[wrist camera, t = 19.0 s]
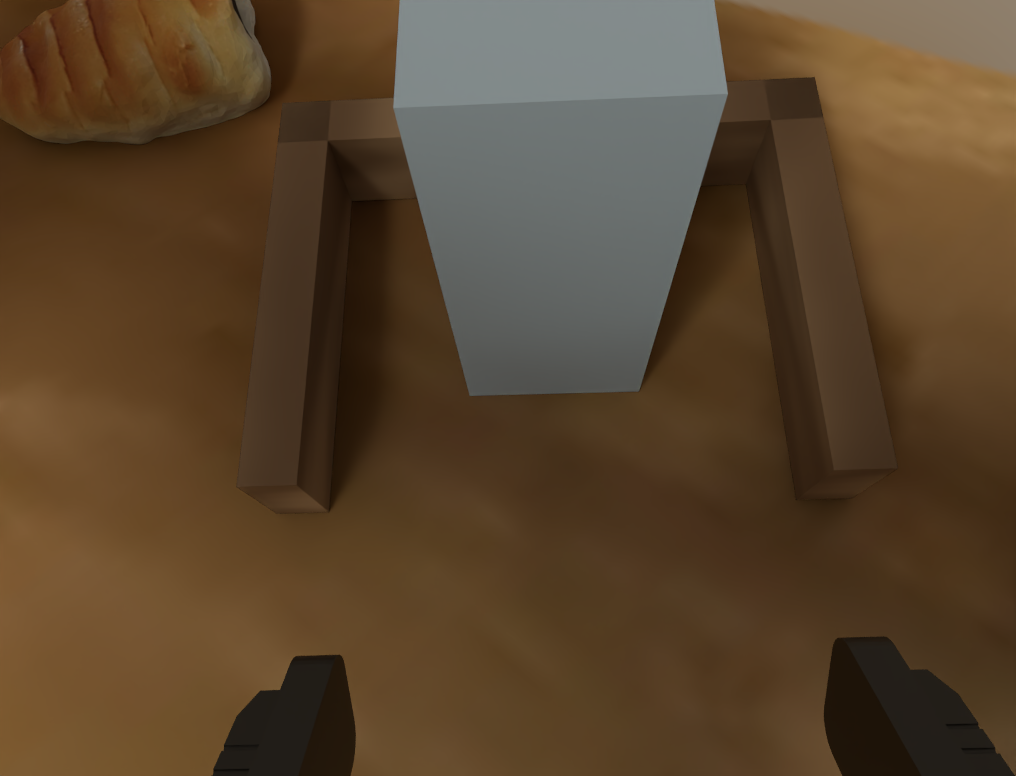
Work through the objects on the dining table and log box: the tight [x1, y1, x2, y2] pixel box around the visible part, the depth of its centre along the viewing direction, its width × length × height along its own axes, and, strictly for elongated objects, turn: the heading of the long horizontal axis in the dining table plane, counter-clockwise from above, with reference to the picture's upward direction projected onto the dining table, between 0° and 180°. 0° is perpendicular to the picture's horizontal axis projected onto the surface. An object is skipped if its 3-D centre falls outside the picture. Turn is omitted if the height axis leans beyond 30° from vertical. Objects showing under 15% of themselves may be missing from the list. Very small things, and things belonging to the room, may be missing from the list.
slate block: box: [393, 0, 728, 396], centre depth 18 cm, size 5×5×12 cm
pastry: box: [0, 0, 271, 144], centre depth 26 cm, size 9×7×4 cm
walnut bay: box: [236, 77, 898, 513], centre depth 22 cm, size 16×12×3 cm
